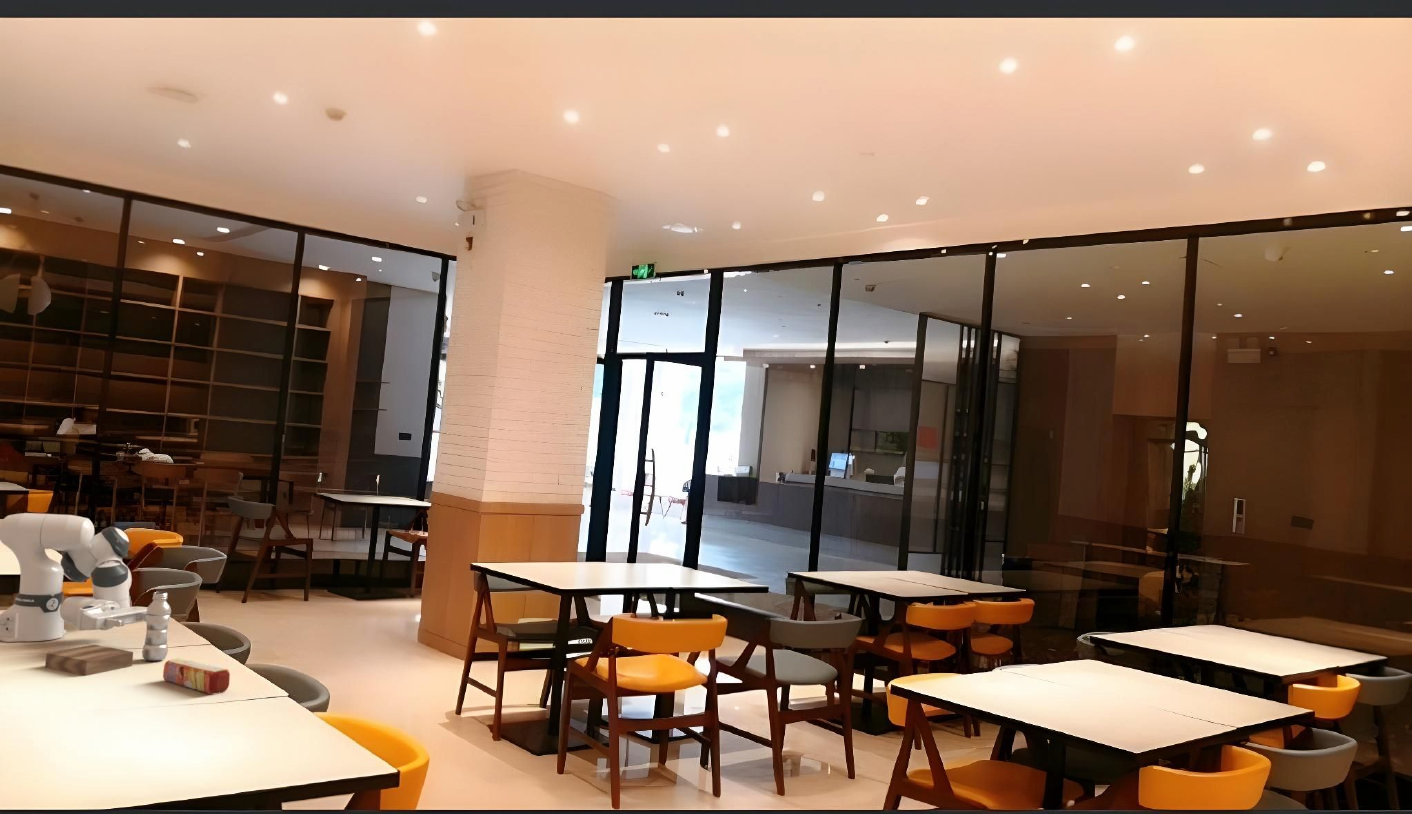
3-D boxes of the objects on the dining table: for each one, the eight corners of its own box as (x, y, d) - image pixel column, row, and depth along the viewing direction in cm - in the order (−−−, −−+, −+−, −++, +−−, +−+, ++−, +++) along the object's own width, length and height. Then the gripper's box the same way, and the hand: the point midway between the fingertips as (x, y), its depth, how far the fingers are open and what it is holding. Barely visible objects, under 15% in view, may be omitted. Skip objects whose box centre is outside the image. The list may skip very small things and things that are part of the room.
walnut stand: (45, 667, 264) (46, 652, 264) (92, 658, 277) (94, 644, 277) (85, 675, 258) (86, 660, 258) (132, 665, 271) (133, 651, 271)
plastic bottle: (158, 663, 276) (165, 595, 277) (136, 661, 276) (142, 593, 277) (171, 658, 282) (178, 592, 283) (149, 657, 282) (156, 590, 283)
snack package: (159, 682, 257) (161, 657, 258) (182, 678, 263) (185, 653, 263) (207, 697, 247) (209, 671, 247) (230, 692, 253) (232, 666, 253)
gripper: (134, 619, 298) (166, 625, 293) (71, 630, 279) (104, 637, 274) (135, 600, 298) (167, 605, 294) (73, 609, 279) (106, 615, 274)
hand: (136, 620), depth 284 cm, fingers open, 8 cm apart
